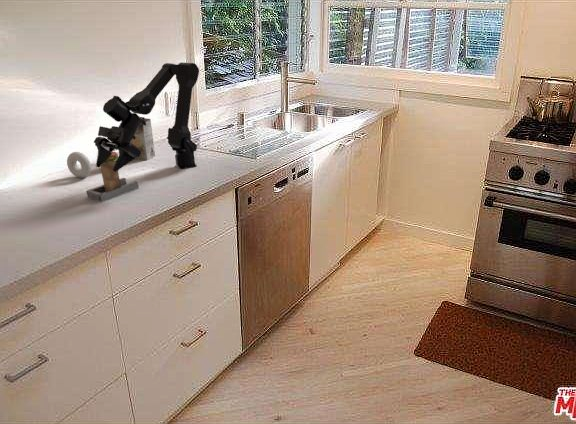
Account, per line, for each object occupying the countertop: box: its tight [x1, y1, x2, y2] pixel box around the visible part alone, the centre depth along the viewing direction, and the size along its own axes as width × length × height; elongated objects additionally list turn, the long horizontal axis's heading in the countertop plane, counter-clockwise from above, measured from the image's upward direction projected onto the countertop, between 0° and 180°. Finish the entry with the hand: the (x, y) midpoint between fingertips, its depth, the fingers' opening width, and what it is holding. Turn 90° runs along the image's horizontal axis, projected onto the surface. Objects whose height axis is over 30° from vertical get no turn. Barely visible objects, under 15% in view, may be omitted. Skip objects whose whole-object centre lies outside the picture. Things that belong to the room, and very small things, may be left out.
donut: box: [66, 151, 92, 179], centre depth 186 cm, size 10×4×10 cm, turn 69°
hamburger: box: [103, 149, 119, 164], centre depth 195 cm, size 8×7×12 cm
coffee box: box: [130, 117, 156, 161], centre depth 206 cm, size 9×6×16 cm
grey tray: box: [86, 177, 140, 203], centre depth 171 cm, size 15×8×2 cm, turn 144°
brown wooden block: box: [100, 161, 121, 192], centre depth 169 cm, size 4×4×10 cm
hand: (105, 169), depth 167 cm, fingers open, 9 cm apart
